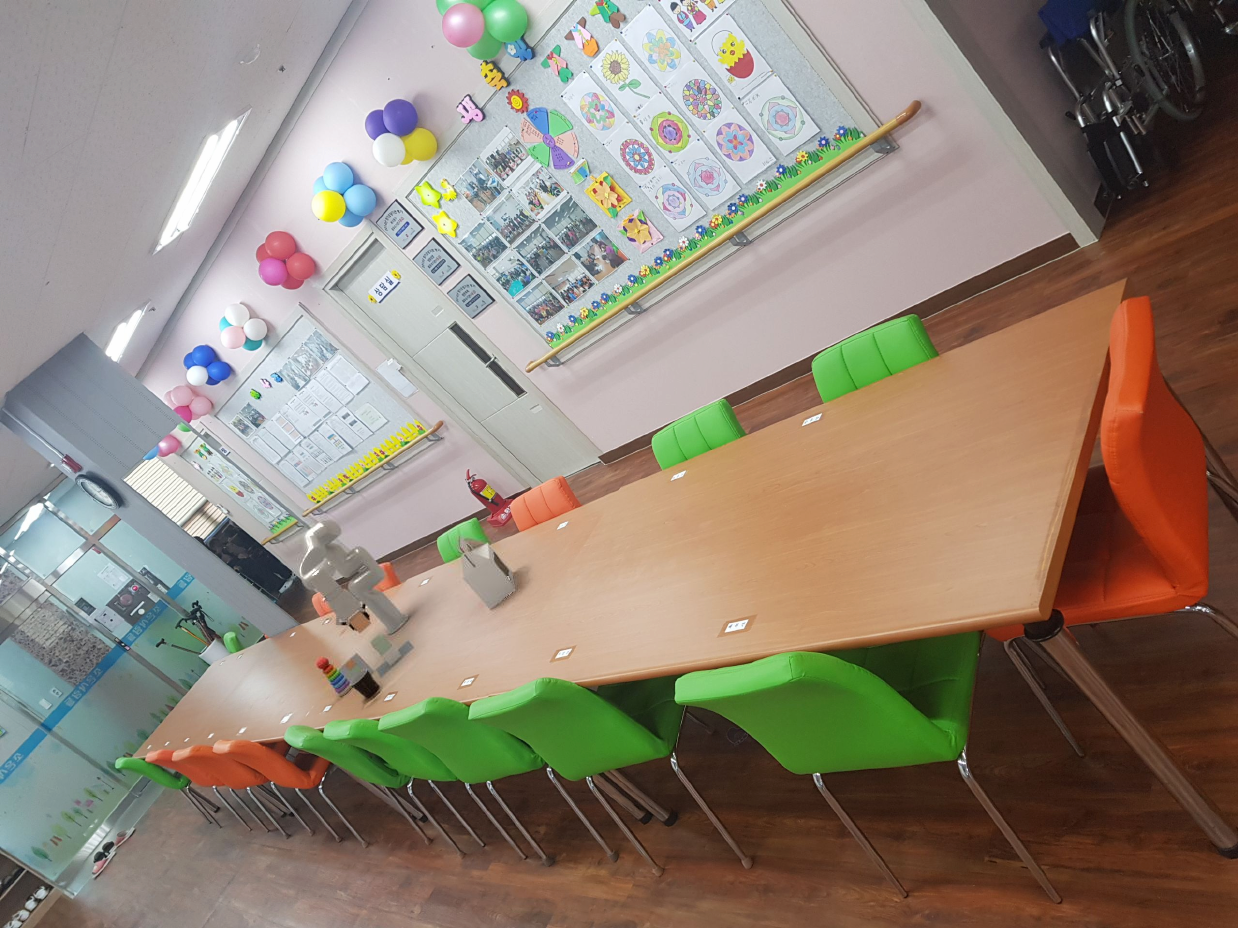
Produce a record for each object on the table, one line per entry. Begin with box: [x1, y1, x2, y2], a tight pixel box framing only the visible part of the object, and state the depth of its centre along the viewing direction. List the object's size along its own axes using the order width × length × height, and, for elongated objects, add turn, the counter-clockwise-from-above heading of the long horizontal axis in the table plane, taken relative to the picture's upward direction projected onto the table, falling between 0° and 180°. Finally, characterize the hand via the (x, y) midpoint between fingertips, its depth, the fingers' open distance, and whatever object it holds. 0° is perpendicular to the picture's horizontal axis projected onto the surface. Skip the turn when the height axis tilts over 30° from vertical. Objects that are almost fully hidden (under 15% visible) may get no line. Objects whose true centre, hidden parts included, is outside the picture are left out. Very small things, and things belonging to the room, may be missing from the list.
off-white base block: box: [381, 645, 402, 666], centre depth 351 cm, size 8×6×6 cm
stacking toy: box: [316, 657, 353, 697], centre depth 359 cm, size 8×8×19 cm
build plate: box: [375, 640, 415, 679], centre depth 352 cm, size 14×18×1 cm
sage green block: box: [369, 631, 394, 657], centre depth 349 cm, size 8×6×6 cm
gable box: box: [457, 535, 517, 610], centre depth 338 cm, size 22×13×28 cm, turn 13°
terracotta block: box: [348, 610, 372, 634], centre depth 345 cm, size 8×6×6 cm
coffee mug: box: [350, 669, 381, 701], centre depth 332 cm, size 12×9×10 cm
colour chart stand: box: [337, 652, 375, 683], centre depth 353 cm, size 4×10×12 cm, turn 120°
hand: (362, 624), depth 346 cm, fingers closed on terracotta block, 6 cm apart
